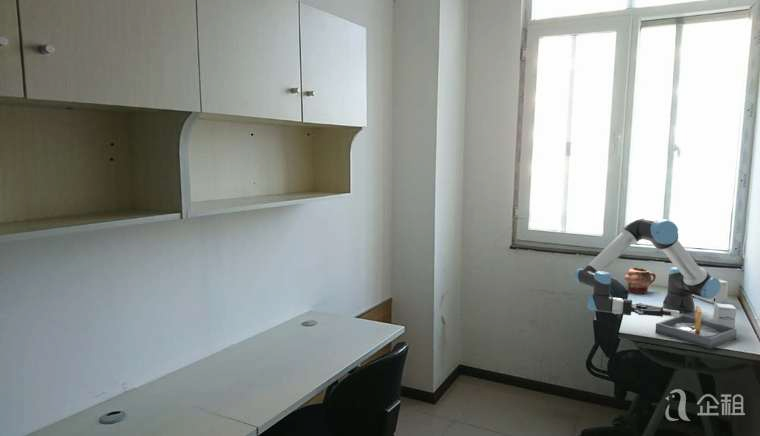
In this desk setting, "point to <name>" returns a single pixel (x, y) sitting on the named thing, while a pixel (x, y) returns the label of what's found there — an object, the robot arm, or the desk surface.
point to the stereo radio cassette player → (721, 296)
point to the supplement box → (724, 315)
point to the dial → (697, 326)
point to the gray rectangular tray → (722, 334)
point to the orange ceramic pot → (639, 280)
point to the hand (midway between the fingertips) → (679, 314)
